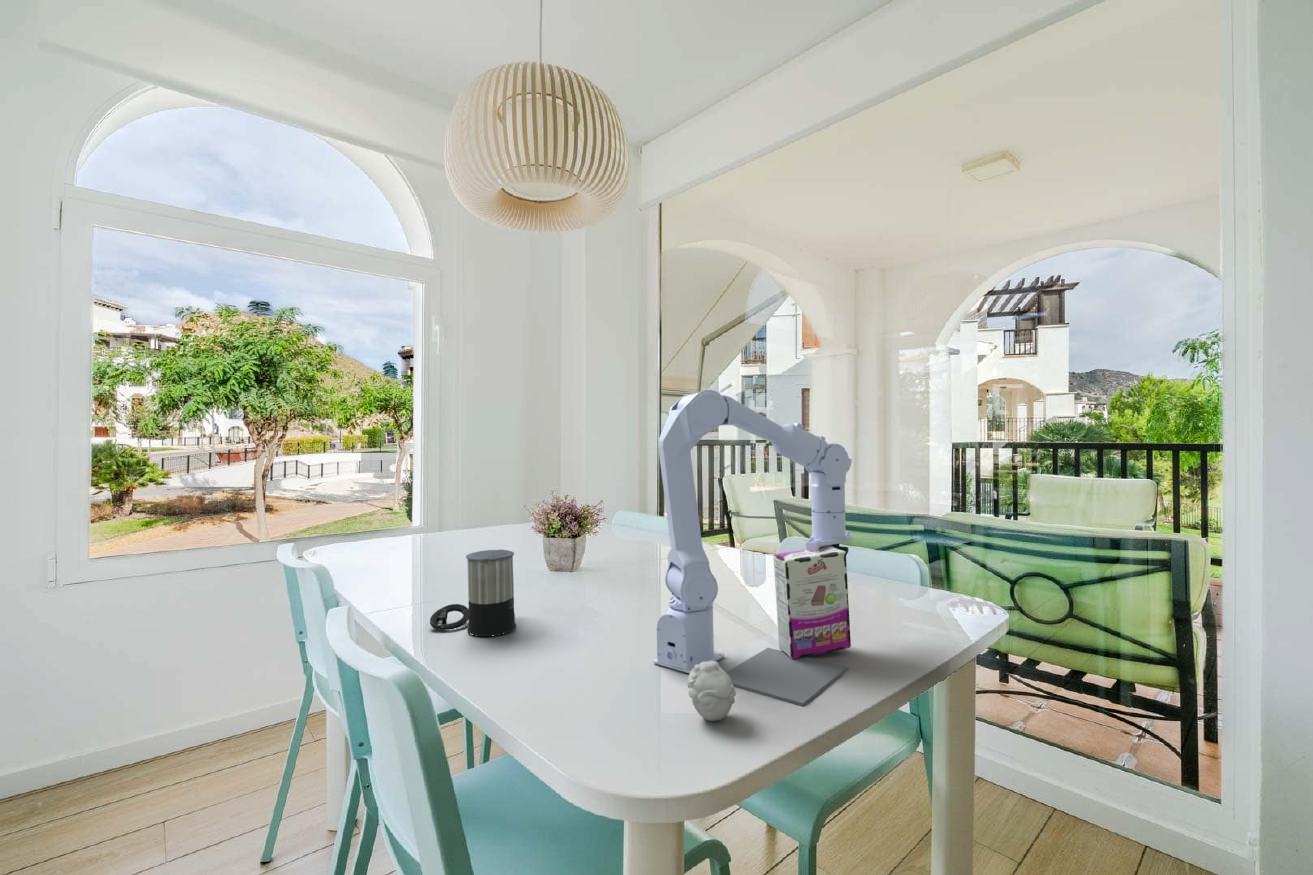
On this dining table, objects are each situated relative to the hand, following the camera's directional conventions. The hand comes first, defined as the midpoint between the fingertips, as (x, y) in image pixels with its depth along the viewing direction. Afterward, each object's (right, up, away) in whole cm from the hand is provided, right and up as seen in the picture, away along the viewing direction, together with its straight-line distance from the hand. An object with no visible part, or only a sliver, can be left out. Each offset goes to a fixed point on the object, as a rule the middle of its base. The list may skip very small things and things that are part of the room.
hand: (829, 588), depth 104 cm
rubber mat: (-11, -10, -14) cm, 20 cm away
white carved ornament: (-23, -10, -27) cm, 37 cm away
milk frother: (-67, -11, +12) cm, 68 cm away
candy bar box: (-4, -9, -5) cm, 11 cm away
